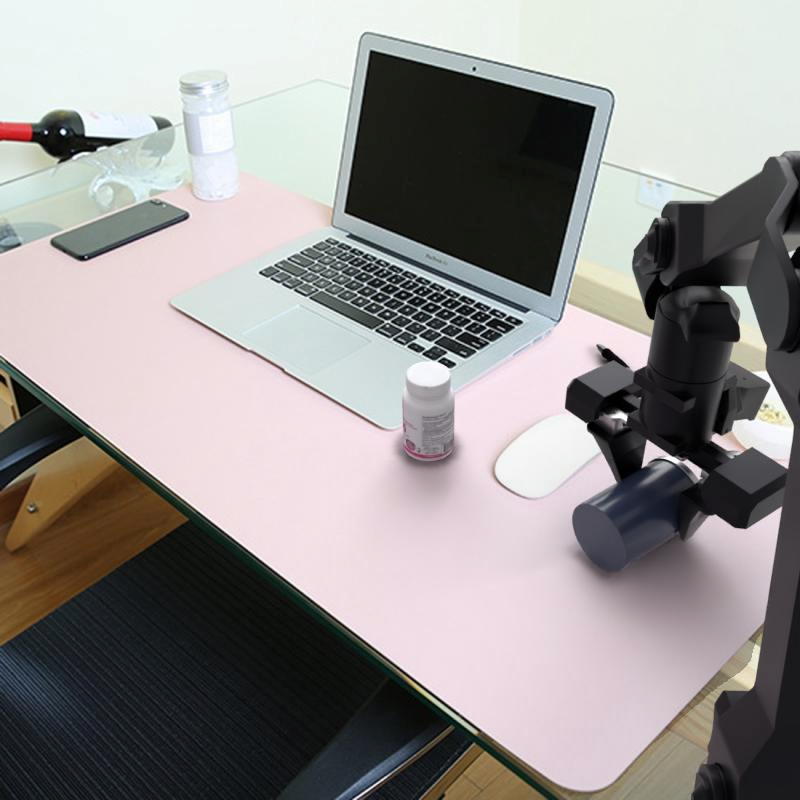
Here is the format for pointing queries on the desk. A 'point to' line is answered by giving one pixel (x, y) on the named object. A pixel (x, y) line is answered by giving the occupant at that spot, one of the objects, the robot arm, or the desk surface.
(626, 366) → the pen
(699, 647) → the desk surface
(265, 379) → the desk surface
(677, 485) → the navy blue tumbler
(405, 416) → the pill bottle
